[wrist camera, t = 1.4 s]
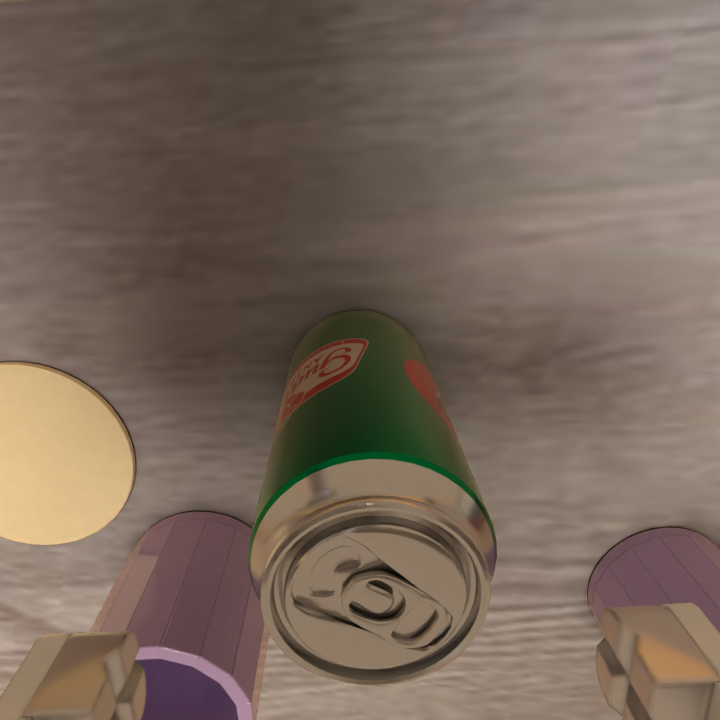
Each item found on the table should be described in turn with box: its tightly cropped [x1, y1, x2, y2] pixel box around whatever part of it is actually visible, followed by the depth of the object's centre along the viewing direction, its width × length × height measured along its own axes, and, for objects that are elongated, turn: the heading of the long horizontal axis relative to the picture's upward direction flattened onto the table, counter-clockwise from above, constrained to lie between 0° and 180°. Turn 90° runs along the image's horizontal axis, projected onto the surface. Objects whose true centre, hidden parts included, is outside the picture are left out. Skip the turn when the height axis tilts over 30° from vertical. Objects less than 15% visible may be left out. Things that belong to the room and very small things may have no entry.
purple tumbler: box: [89, 512, 269, 720], centre depth 22 cm, size 6×6×7 cm
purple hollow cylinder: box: [588, 528, 720, 637], centre depth 23 cm, size 6×6×7 cm
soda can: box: [248, 310, 497, 687], centre depth 16 cm, size 5×5×12 cm
